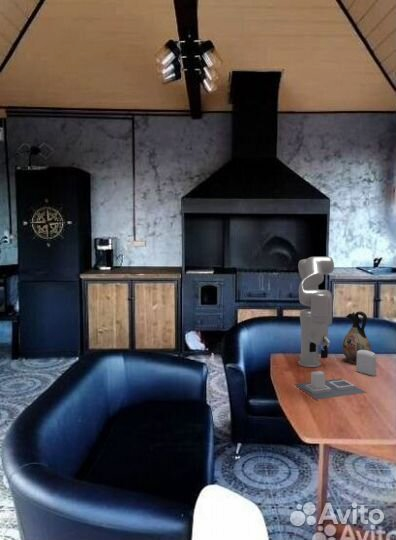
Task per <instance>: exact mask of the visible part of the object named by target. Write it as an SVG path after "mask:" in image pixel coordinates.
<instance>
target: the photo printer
mask: <svg viewBox="0 0 396 540" xmlns="http://www.w3.org/2000/svg"><path fill="white" fill-rule="evenodd" d="M355 365H356V367H355V368H356V373H359V374H364V375H368V376H373V377H374V376H376V375H377V354H376V353H375V352H373V351H368V350H359V351H357V361H356V363H355Z"/></svg>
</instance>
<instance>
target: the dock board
mask: <svg viewBox="0 0 396 540" xmlns="http://www.w3.org/2000/svg"><path fill="white" fill-rule="evenodd" d="M295 386H296V388H297V389H298V388H299V390H300V391H301V390H302V391H301V392H303V393H304V392H305V393H304V394H306V395H307V396H308V395H309V397H310V398H311V397H312V399H313V400H314V401H316V402H319V400H325V399H332V398H338V397H343V396H345V397H346V396H352V395H359V394H360V395H361V394H366V393H367V391H365V390H363V389H362V388H359V387H358V386H356V385H355V384H353V383H351V382H349V381H347V380H346V379H342V378H332V379H327V380H326V379H325V389H317V390H314V389H313V388H311V381H310V382H309V381H308V382H302V383H301V382H300V383H295V384H294V387H295Z"/></svg>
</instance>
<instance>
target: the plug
mask: <svg viewBox="0 0 396 540" xmlns="http://www.w3.org/2000/svg"><path fill="white" fill-rule="evenodd" d="M325 380H326V372H325V371H320V370H317V371H311V373H310V382H311V388H313V389H314V390H317V389H325Z"/></svg>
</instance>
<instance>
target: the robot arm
mask: <svg viewBox="0 0 396 540" xmlns="http://www.w3.org/2000/svg"><path fill="white" fill-rule="evenodd" d="M297 266H298V273H299V275H300V278H301V281H300V283H299V286H298V300H299V303H300V304H301V305H303V306H306V307H310V308H306V309H302V310H301V311H300V314H299V321H300V333H301V334H300V335H301V338H300V340H301V341H300V343H301V344H300V354H299V357H300V359H299V360H298V361H297V363H298V366H301V367H305V368H318V367H321V365H322V363H321V361H320V360H319V346H320V348H321V349H320V359H328V358H329V357H328V356H329V355H328V354H329V353H328V352H329V349H330V345H331V341H330V340H329V329H328V327H330V326H332V324H333V297H332V296H333V295H332V292H331V291H330V290H329V289H319V285H321V284H322V283H323V282H324V278H325V277H324V276H325V275H330V274H332V272H333V271H334V268H335V263H334V259H333V258H332V257H330V256H310V257H308V258H304V259H300V260H299V262H298V265H297Z"/></svg>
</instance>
